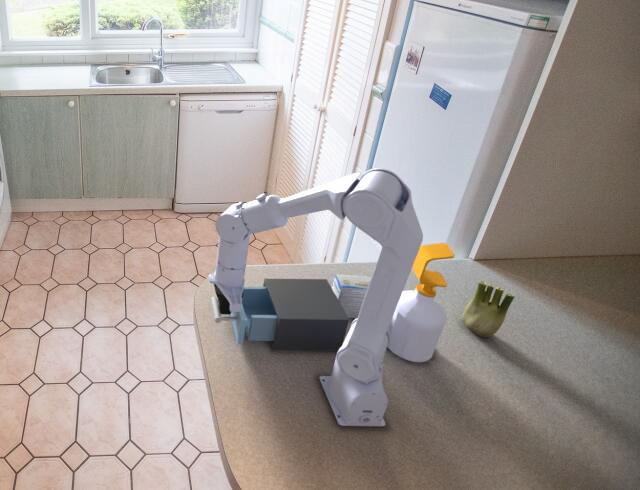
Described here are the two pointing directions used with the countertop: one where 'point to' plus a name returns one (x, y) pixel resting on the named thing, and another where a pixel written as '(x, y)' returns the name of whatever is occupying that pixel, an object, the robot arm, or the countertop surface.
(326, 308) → the dark grey drawer cabinet
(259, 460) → the countertop surface
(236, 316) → the blue drawer
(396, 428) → the countertop surface
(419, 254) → the soap bottle
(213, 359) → the countertop surface
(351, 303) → the medicine box
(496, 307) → the fennel bulb
